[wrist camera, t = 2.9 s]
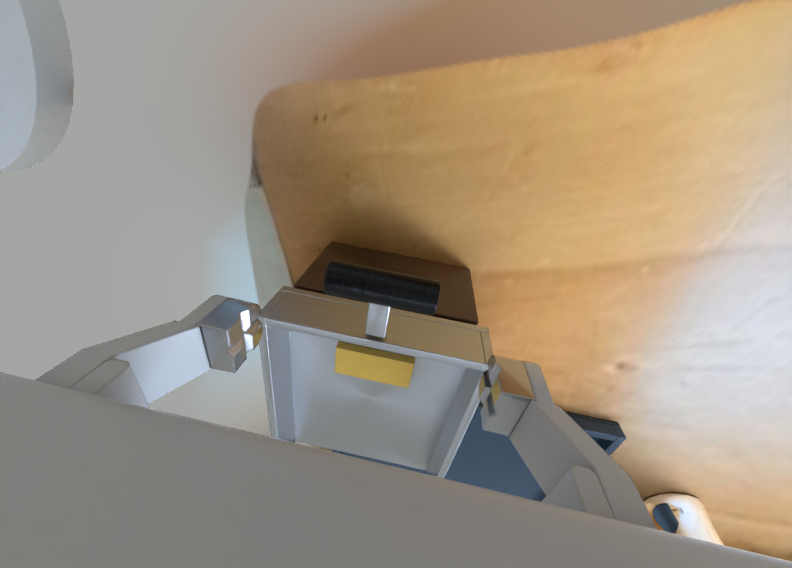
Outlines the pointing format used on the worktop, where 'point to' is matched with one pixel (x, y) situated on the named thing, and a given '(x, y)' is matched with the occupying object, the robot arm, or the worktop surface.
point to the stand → (454, 280)
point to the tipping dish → (365, 399)
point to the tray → (507, 457)
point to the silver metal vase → (681, 516)
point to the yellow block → (374, 364)
